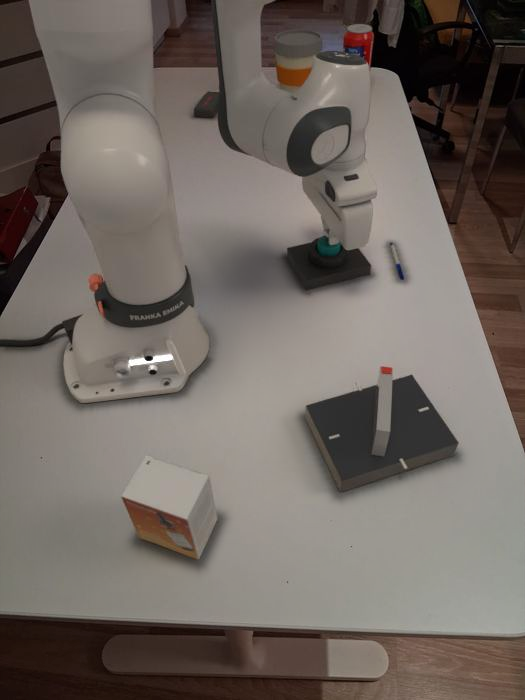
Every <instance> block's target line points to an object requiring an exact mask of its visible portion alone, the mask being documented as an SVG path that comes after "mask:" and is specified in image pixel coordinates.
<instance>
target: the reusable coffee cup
mask: <svg viewBox="0 0 525 700" xmlns="http://www.w3.org/2000/svg"><path fill="white" fill-rule="evenodd" d="M273 43H274V44H273V52H274V53H275V61H274V64H275V71H276V78H277V82H279V89H282V90H285V91H287V92H290V93H295V92H296V91H297V90H298V89H299V88H300V87H301V86H302V85H303V84H304V82H305V81H306V80H307V78H308V76H309V75H310V73H311V68H312V63H313V59H314V56H315V55H316V54H318V53H320V52H323V48H324V47H323V36H322V34H321V33H320V32H318V31H315V30H311V29H303V28H301V29H300V28H299V29H289V30H284V31H281V32H279V33H277V34H275V36H274V42H273Z"/></svg>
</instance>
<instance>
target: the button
mask: <svg viewBox="0 0 525 700" xmlns="http://www.w3.org/2000/svg"><path fill="white" fill-rule="evenodd" d="M318 238H319V239H318V244H317V251H318V252H319V254H321V255H323V256H334V255H337V254H338V253H339V252H340V245H341V243H340V241H339V243H338V244H335V245H330V244H329V243H328V241H327V240H326V238H325V237H324V236H323V235H322V236H320V237H318Z"/></svg>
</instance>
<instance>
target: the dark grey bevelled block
mask: <svg viewBox="0 0 525 700" xmlns="http://www.w3.org/2000/svg"><path fill="white" fill-rule="evenodd" d="M218 102H219V90H210V91H209V90H208V91H207V92H205V94H203V95H202V97H201V98H200V99H199V100H198V102H197V104H196V105H194V108H193V116H194V117H195V118H208V119H209V118H210V119H214V118H215V116H216V114H218Z"/></svg>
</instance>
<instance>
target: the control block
mask: <svg viewBox="0 0 525 700" xmlns="http://www.w3.org/2000/svg"><path fill="white" fill-rule="evenodd" d="M319 238H320V237H316V238H315V239H314V240H313V241H311V242H310V241H309V242H307V243H302V244H298V245H293V246H289V247H287V248H286V258H287V260H288V261H289V263H290V264H291V267H292V268H293V270H294V271H295V274H296V275H297V277H298V279H299V280H300V282H301V283H302V285H303V287H304V289H305V290H306V291H310V290H314V289H319V288H323V287H326V286H327V287H328V286H330V285H334V284H339V283H342V282H346V281H352V280H354V279H358V278H362V277H368V276H370V275H371V270H372V264H371V263H370V261H368V259H367V258H366V256H365V255H364V253H363V252H362V250H361V249H360V248H357V249H352V250H346V249H344V247H343V246H342V244H341V245H340V252H339V253H338V254H337V255H334V256H323V255H321V254H319V252H318V251H317V244H318V239H319Z"/></svg>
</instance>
